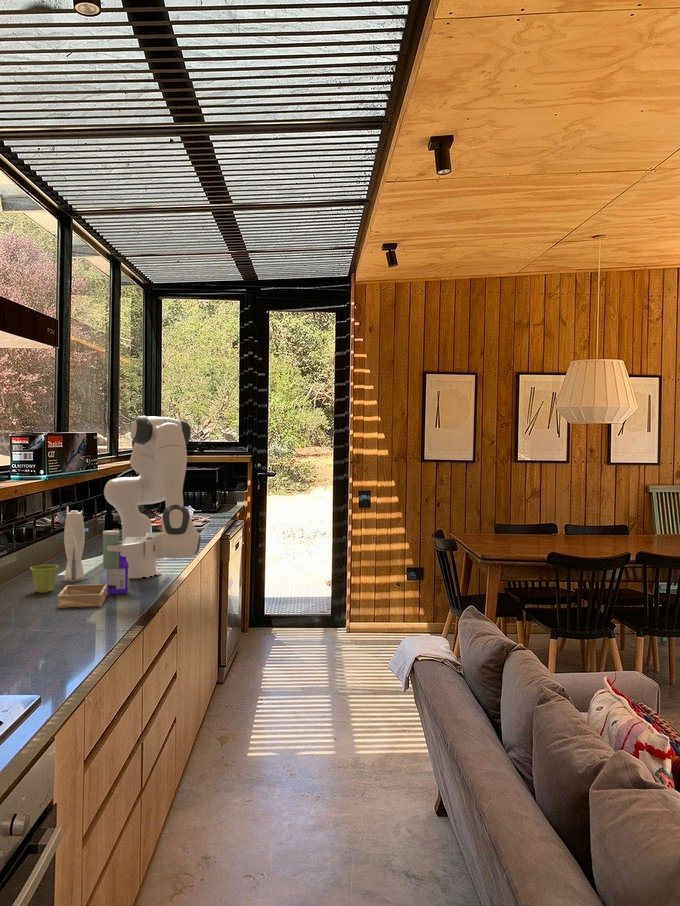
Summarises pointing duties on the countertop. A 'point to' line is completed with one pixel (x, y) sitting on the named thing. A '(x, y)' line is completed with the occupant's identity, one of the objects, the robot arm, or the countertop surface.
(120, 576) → the bottle
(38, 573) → the plant pot
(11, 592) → the countertop surface
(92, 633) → the countertop surface
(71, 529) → the skyscraper
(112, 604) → the countertop surface
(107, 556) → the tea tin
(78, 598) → the crate
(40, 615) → the countertop surface
